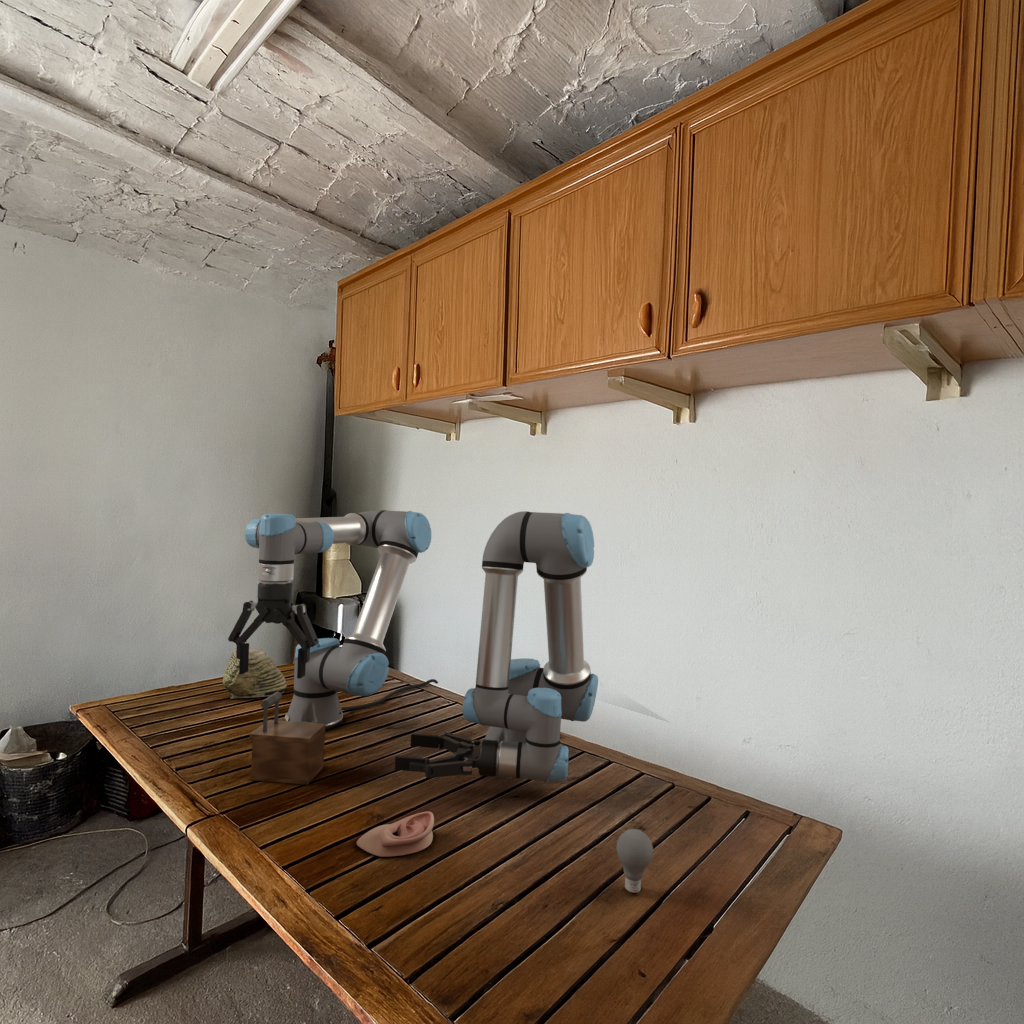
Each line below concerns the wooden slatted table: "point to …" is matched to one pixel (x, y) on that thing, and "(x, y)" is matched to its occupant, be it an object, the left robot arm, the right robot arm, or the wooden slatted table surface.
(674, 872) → the wooden slatted table surface
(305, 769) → the chest
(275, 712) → the lid
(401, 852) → the anatomical model
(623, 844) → the light bulb
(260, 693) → the fossil
